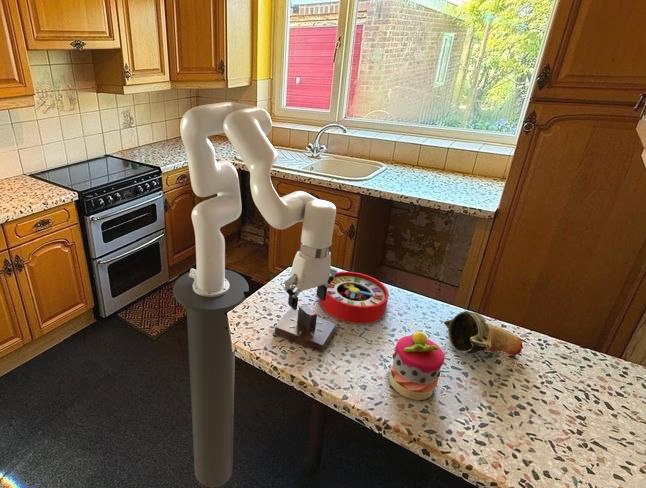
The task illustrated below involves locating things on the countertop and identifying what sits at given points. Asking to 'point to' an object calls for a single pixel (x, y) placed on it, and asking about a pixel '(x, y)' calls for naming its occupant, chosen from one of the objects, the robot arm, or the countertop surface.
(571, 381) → the countertop surface
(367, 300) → the toy clock
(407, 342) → the cake
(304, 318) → the dial
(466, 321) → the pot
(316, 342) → the panel
